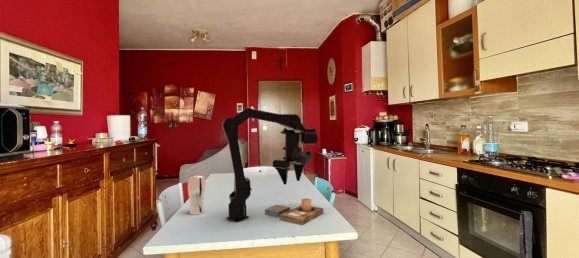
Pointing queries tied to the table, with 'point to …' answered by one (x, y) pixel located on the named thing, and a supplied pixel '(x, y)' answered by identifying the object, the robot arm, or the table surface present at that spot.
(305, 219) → the hole plate
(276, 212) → the tab
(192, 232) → the table surface
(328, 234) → the table surface
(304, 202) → the peg
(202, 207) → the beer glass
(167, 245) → the table surface
